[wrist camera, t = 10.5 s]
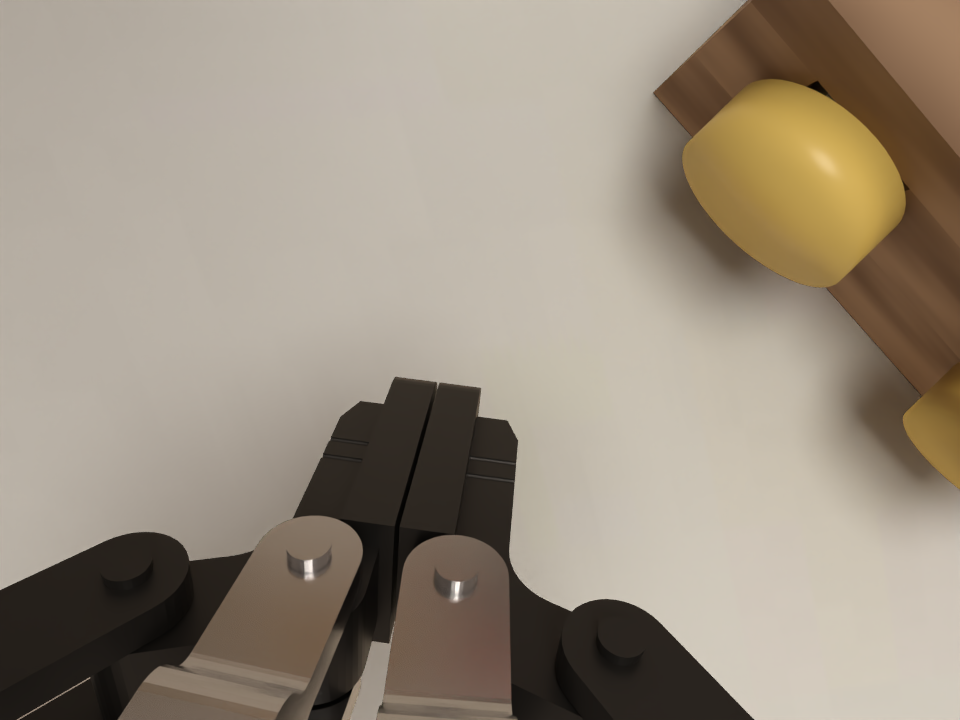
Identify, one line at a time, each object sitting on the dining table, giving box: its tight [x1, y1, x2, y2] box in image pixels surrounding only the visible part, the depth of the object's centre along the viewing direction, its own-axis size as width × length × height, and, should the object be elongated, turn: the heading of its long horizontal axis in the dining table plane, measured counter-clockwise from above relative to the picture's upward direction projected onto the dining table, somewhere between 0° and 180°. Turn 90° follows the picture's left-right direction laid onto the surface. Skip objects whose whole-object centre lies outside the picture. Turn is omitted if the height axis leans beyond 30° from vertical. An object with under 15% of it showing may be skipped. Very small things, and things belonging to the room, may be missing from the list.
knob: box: [682, 79, 906, 287], centre depth 22 cm, size 15×6×6 cm, turn 134°
